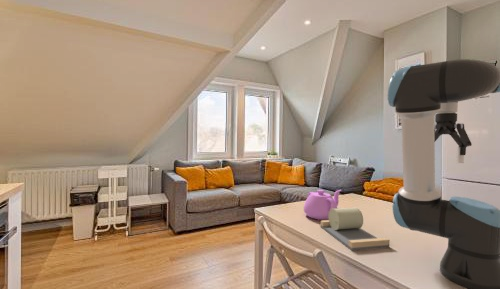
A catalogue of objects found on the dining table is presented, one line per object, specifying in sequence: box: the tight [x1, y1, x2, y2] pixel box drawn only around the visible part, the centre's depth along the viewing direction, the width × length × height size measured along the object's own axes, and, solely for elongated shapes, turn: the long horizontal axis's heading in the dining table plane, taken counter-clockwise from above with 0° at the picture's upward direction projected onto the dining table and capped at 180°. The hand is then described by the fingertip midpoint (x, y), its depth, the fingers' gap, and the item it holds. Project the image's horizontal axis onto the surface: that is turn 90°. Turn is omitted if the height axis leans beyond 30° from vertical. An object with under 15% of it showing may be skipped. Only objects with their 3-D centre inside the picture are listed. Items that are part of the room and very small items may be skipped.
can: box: [328, 206, 364, 230], centre depth 111 cm, size 9×9×12 cm
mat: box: [320, 220, 390, 252], centre depth 105 cm, size 24×16×3 cm, turn 11°
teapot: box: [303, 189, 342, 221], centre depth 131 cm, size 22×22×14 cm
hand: (444, 161), depth 110 cm, fingers open, 13 cm apart
